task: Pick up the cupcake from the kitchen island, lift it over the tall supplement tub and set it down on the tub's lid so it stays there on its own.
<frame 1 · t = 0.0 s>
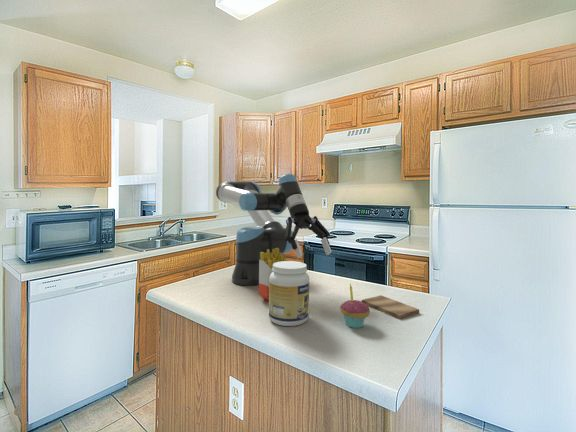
hand: (315, 255, 116), 15 cm above the counter, tool tilted 35°, fingers open, 13 cm apart
supplement tub: (288, 319, 94), on the counter
cutting board: (389, 307, 105), on the counter
french fries container: (273, 299, 112), on the counter
cupcake: (354, 325, 91), on the counter
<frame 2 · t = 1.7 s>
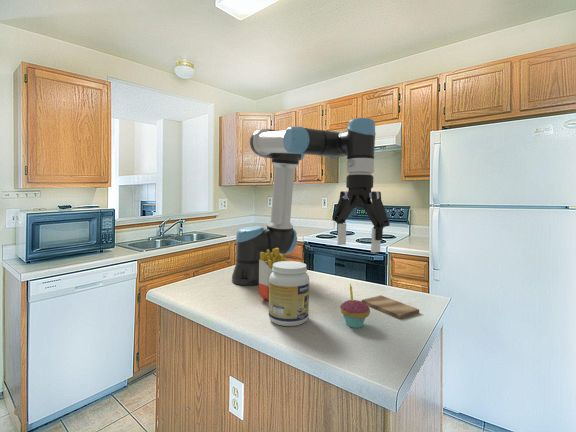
hand: (357, 248, 90), 23 cm above the counter, tool pointing down, fingers open, 13 cm apart
nothing on the counter moved.
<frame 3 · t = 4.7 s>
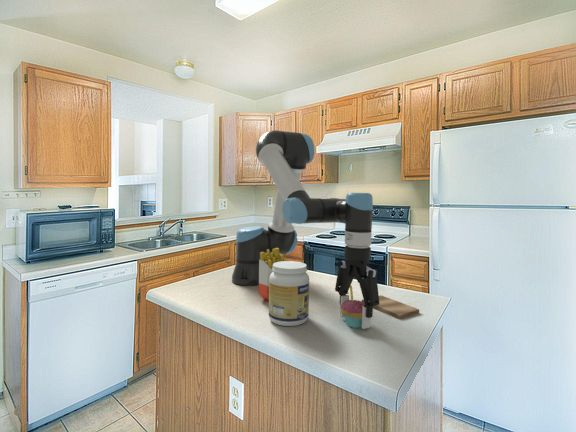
hand: (354, 321, 91), 1 cm above the counter, tool pointing down, fingers closed on cupcake, 8 cm apart
cupcake: (354, 325, 91), on the counter, touching gripper
everything else where it was.
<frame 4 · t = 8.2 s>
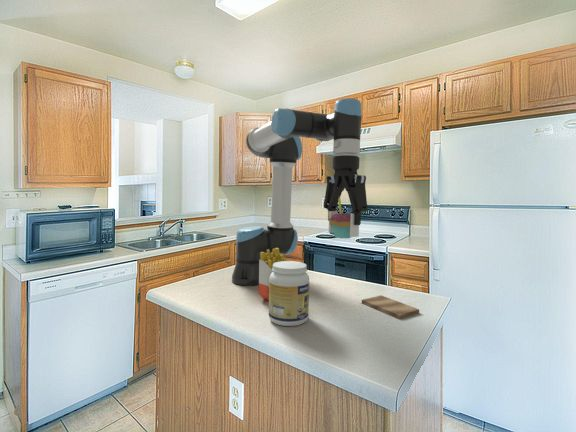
hand: (342, 234, 90), 27 cm above the counter, tool pointing down, fingers closed on cupcake, 8 cm apart
cupcake: (343, 237, 90), point 26 cm above the counter, touching gripper
everything else where it was.
when the fingers open (20 cm above the counter, at t = 11.7 s): cupcake drops 2 cm, resting on supplement tub.
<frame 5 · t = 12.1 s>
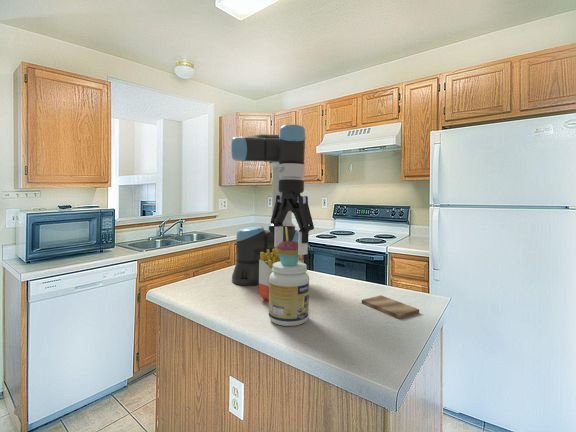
hand: (289, 250, 93), 21 cm above the counter, tool pointing down, fingers open, 13 cm apart
supplement tub: (288, 319, 94), on the counter, touching cupcake
cupcake: (289, 265, 93), point 17 cm above the counter, touching supplement tub
everything else where it was.
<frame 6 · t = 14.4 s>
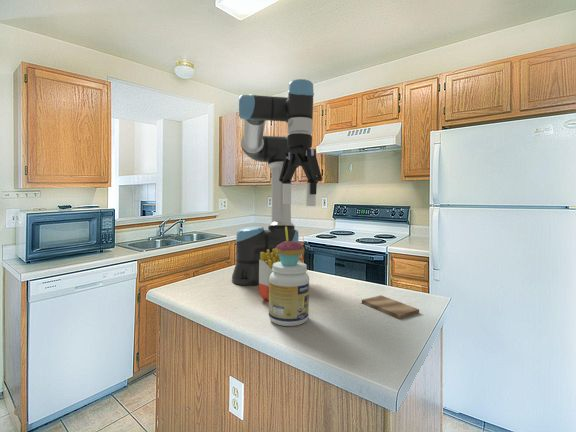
hand: (298, 205, 95), 35 cm above the counter, tool pointing down, fingers open, 13 cm apart
nothing on the counter moved.
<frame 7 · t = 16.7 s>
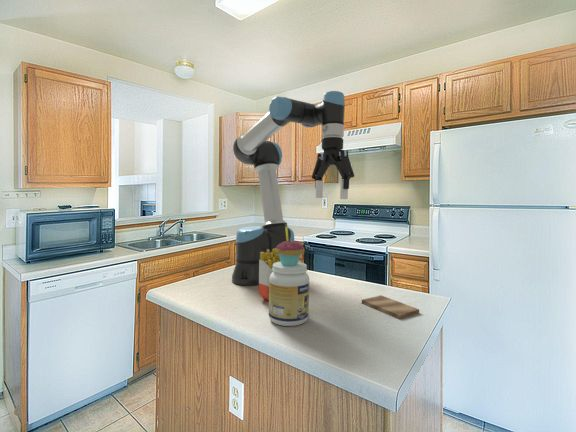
hand: (330, 198, 110), 37 cm above the counter, tool pointing down, fingers open, 13 cm apart
nothing on the counter moved.
at the end: cupcake inside the target area on the supplement tub (0.1 cm from its centre), point 17.0 cm above the supplement tub's base; the gripper is holding nothing; supplement tub tilted 0° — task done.
